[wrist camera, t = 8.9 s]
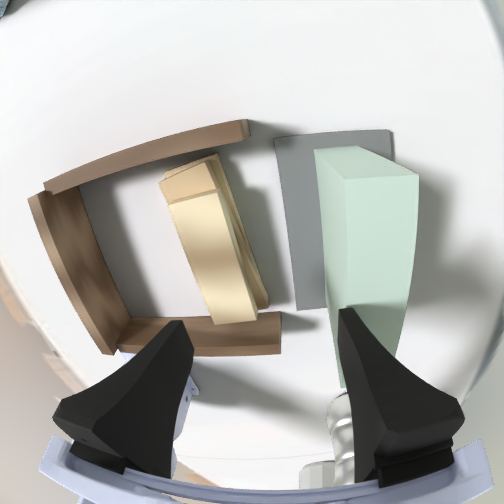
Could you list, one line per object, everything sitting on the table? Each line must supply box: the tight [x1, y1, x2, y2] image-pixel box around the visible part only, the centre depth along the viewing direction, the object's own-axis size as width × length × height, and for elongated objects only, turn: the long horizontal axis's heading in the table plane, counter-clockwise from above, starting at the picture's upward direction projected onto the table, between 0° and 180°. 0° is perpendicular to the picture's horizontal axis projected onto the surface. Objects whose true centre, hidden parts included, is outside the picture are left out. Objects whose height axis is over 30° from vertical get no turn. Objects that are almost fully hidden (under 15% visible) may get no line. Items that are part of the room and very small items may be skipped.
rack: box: [27, 119, 282, 357], centre depth 20 cm, size 17×17×5 cm
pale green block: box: [314, 146, 419, 388], centre depth 15 cm, size 12×3×9 cm, turn 10°
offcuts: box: [158, 153, 269, 325], centre depth 20 cm, size 13×4×4 cm, turn 17°
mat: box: [274, 130, 392, 311], centre depth 20 cm, size 14×8×1 cm, turn 10°
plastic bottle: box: [326, 394, 354, 487], centre depth 21 cm, size 6×7×20 cm
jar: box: [299, 461, 336, 490], centre depth 37 cm, size 10×10×18 cm
